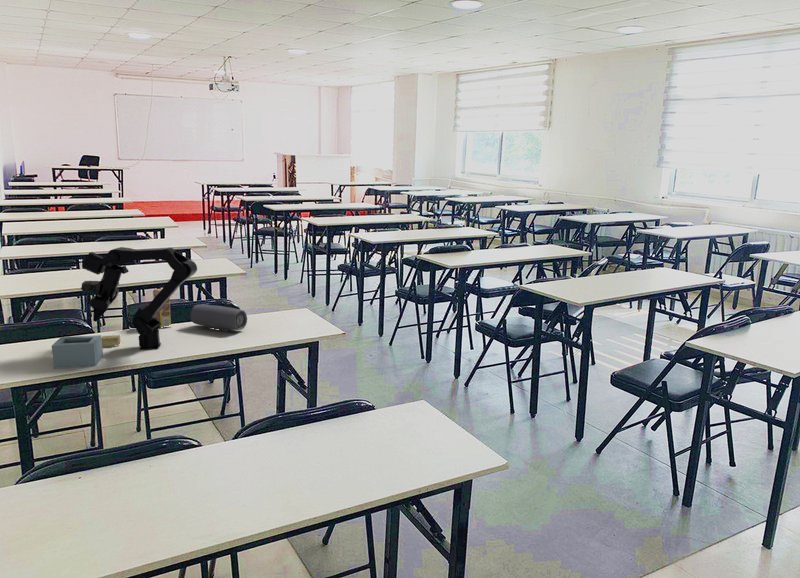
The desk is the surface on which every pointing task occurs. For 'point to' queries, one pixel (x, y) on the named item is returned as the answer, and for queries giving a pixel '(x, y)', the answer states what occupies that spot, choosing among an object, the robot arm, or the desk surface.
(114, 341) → the tan rectangular block
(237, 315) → the bluetooth speaker
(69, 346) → the blue-grey open box
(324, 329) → the desk surface
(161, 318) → the candy box
